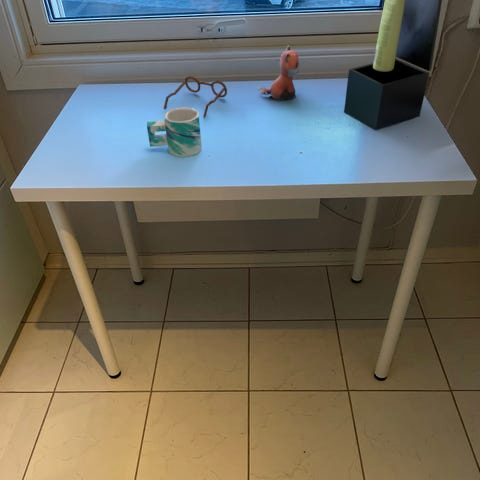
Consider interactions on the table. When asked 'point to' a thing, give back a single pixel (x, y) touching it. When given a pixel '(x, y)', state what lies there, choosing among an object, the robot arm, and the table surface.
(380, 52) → the tube
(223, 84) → the glasses
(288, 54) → the stuffed fox
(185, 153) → the mug
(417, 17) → the bin lid
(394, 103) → the bin
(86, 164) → the table surface
